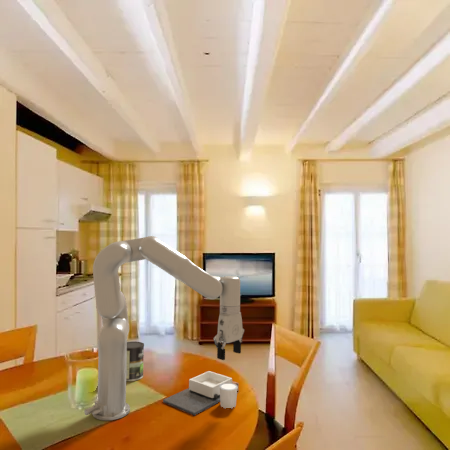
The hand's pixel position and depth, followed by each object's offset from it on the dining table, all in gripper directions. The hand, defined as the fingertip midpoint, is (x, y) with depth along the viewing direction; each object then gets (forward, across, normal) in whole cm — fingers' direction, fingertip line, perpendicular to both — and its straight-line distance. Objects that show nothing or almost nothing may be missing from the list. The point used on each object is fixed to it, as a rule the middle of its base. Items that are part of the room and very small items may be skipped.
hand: (229, 355), depth 140 cm
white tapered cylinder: (+18, 0, 0) cm, 18 cm away
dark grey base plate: (+18, -1, +12) cm, 22 cm away
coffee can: (+18, -6, +49) cm, 53 cm away
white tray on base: (+17, +4, +12) cm, 21 cm away
